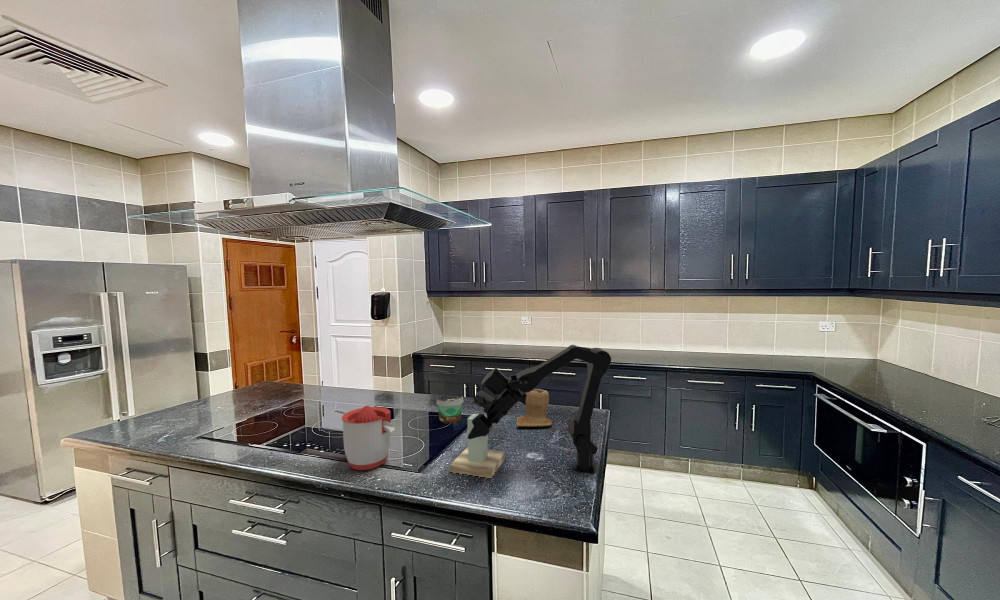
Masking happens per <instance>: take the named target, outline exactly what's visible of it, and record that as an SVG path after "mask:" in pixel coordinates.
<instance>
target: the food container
mask: <svg viewBox="0 0 1000 600" xmlns="http://www.w3.org/2000/svg"><path fill="white" fill-rule="evenodd" d="M463 403H464V397H463V395H461V396H460V397H458V398H456V397H455V398H447V399H445V400H440V399H438V398H437V400H436V403H435V404H436V405H437V409H438V415H439V422H440V421H441V422H440V423H442V422H443V423H442V424H448V423H450V424H456V423H459V422H460V421H461V420H462V411H463V410H462V409H463ZM458 421H459V422H458ZM455 422H456V423H455Z"/></svg>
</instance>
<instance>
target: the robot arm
mask: <svg viewBox="0 0 1000 600" xmlns="http://www.w3.org/2000/svg"><path fill="white" fill-rule="evenodd" d="M575 360H579V361H582V362H586V367H587V369H586V370H587V371H586V372H587V375H586V379H585V383H584V387H583V389H582V390H583V391H582V395H581V398H580V402H579V406H578V410H577V414H576V416H575V417H574V418H571V417H569V419H568V420H569V421H568V426H567V427H566V430H567V434H568V437H569V439H570V440H571V442H572V443H573V445H574V446H575V450H576V451H575V452H576V453H575V457H576V459H575V464H574V466H573V470H574V471H578V472H586V473H590V474H591V473H593V474H595V472H596V466H597V463H596V462H595V455H597V452H598V447H597V445H596V444H595V442H594V441H593V439H592V426H591V425H592V424H591V420H592V417H593V413H594V408H595V404H596V401H597V398H598V397H597V396H598V393H599V389H600V386H601V381H602V378H603V377H604V376H605V375H606V373H607V372H608V370H609V368H610V366H611V364H612V357H611V355H610V353H609V352H607V351H606V350H604V349H602V348H600V347H593V348H590V347H589V348H588V347H582V346H578V345H575V344H571V345H569V346H568V347H566V348H564V349H563V350H561V351H560V352H558V353H556V354H555V355H554V356H551V357H550V358H548V359H547V360H545V361H543V362H541V363H539V364H538V365H536V366H530V367H528V368H526V369H523V370H520V371H518V372H517V373H516V374H513V375H509V376H505V375H504V374H503V372H501V371H500V369H498V367H494V369H492V370H491V371H490V372H488V373H487V374H486V375H485V376H484V377H483V379H482V381H481V383H480V384H481V385H483V386H484V387H485V388H486V389H487V390H488V391H490V393H492V394H493V395H495V396H496V395H497V396H496V397H494V396H492V395H491V394H489V393H487V392H485V391H484V390H479V391H478V392H476V394H475V396H474V397H473V401H472V402H473V404H475V405H477V406H478V407H481V408H483V409H482V411H483V412H484V413H485V414H484V413H478V414H479V415H478V416H476V417H475V418H474V419H473V420H472V424H473V425H474V427H473V428H472V430H471V432H470V433H469V435H468V434H467V439H468V438H469V439H473V438H477V437H481V436H486V435H487V434H488V435H489V434H490V432H492V430H493V429H494V426H493V424H495V425H497V424H498V423H499V422H500V421H501V420H502V419H503V418H504V417H505V416H506V415H507V414H508V413H509V412H510V411H511V410H512V409H513V408H514V407H515V406H517V404H519V403H521V404H522V405H523V406H526V401H527V394H525V392H526V393H528V392H530V391H532V390H533V389H536V388H537V387H538V386H539V385H540V384H541V382H542V381H543V380H544V379H546V378H547V377H548V376H550V375H551V374H554V373H555V372H557V371H558V370H559V369H561V368H564V367H565V366H567V365H568V364H570V363H572V362H573V361H575ZM484 415H487V418H486V417H485V416H484Z"/></svg>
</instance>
